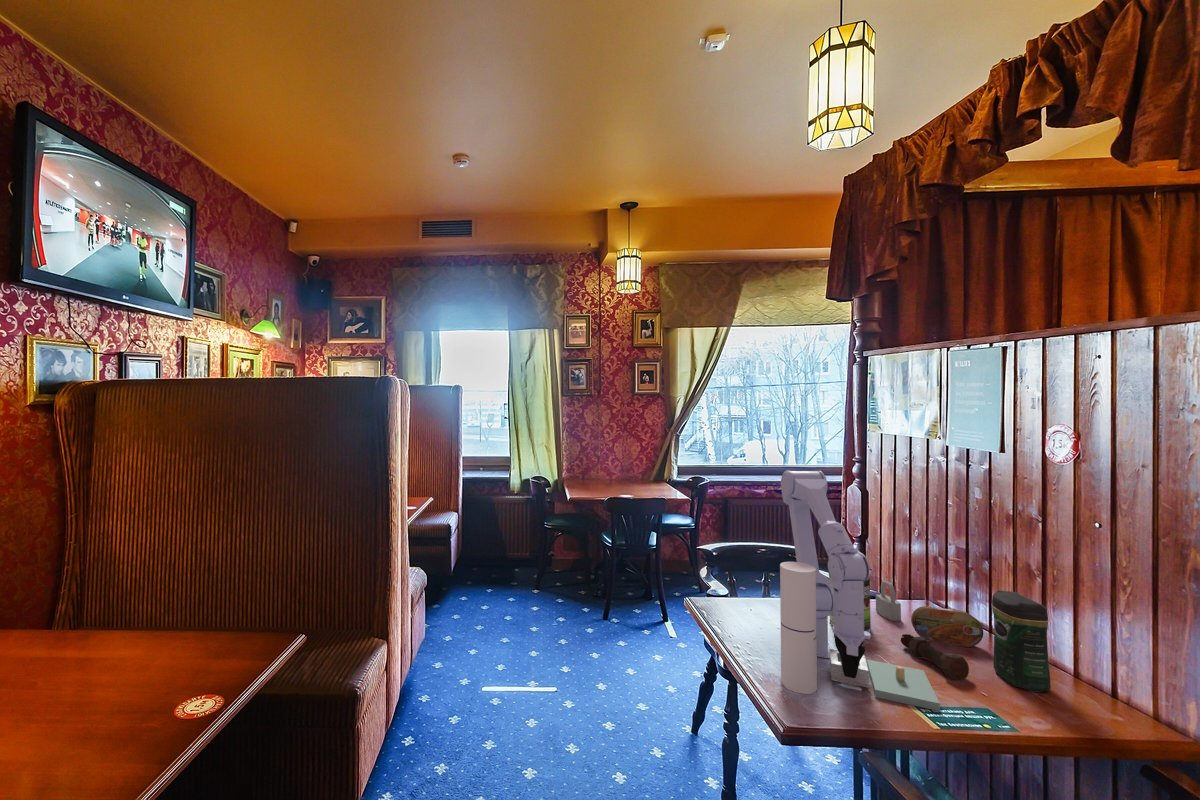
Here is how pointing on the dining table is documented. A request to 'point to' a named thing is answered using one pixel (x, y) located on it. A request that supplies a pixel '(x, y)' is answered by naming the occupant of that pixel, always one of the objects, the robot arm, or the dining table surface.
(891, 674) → the plate
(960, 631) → the tin
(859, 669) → the grey boxy piece
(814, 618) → the cylindrical container
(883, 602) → the padlock
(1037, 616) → the coffee jar
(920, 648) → the bolt
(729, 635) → the dining table surface
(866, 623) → the coffee can
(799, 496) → the robot arm
